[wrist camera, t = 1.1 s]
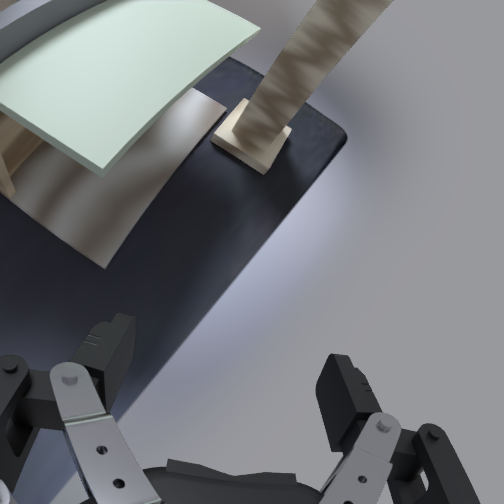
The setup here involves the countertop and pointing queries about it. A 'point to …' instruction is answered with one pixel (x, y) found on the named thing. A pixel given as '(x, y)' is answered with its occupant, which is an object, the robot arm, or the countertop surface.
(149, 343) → the countertop surface
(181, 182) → the countertop surface
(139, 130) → the trapdoor
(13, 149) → the trapdoor frame
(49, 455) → the countertop surface
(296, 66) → the tall stand
